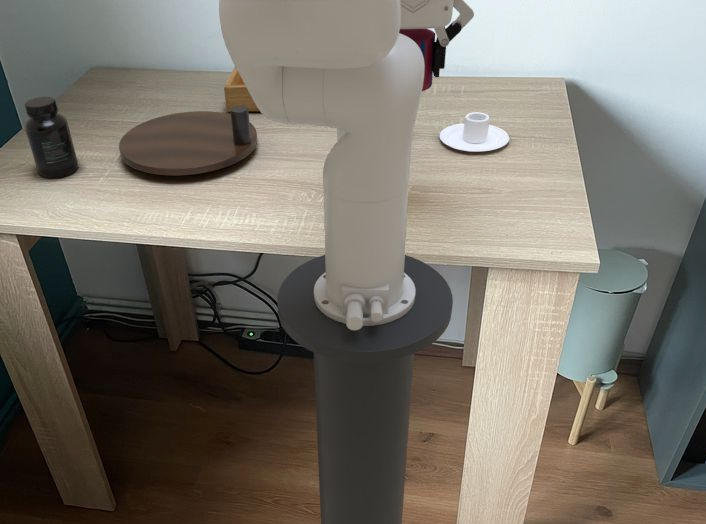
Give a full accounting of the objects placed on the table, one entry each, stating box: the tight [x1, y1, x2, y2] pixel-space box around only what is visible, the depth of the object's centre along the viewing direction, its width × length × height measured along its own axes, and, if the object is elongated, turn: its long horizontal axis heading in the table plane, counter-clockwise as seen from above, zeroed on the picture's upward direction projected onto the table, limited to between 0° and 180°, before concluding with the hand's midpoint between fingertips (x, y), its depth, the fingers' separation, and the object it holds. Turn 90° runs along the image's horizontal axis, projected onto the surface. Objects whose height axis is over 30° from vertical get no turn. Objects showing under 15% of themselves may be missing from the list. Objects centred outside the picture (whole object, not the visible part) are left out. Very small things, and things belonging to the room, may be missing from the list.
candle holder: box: [439, 111, 510, 153], centre depth 127 cm, size 12×12×4 cm
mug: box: [399, 29, 436, 92], centre depth 99 cm, size 7×10×7 cm
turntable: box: [118, 105, 258, 176], centre depth 125 cm, size 24×24×7 cm
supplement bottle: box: [24, 95, 79, 179], centre depth 122 cm, size 7×7×12 cm
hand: (408, 73), depth 100 cm, fingers closed on mug, 6 cm apart
